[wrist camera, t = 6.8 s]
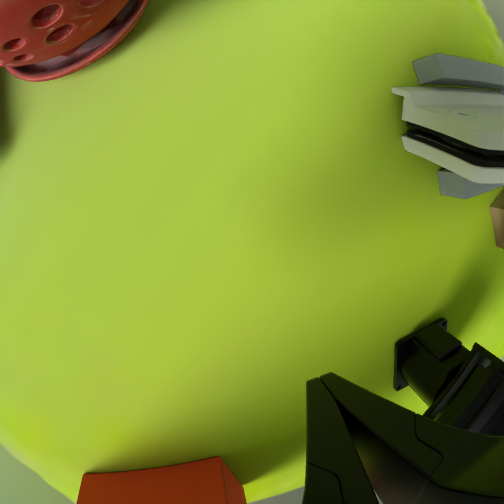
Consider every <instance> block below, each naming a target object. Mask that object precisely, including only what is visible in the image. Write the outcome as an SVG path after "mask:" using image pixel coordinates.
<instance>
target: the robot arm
mask: <svg viewBox="0 0 504 504" xmlns="http://www.w3.org/2000/svg"><path fill="white" fill-rule="evenodd" d="M446 330H447V319H445V318H441V319H439V320H437V321H436V322H434V323H432V324H430V325H428V326H427V327H425V328H423V329H421V330H419V331H417V332H416V333H414V334H412V335H410V336H408V337H406V338H404V339H402V340H400V341H398V342H397V343H396V345H395V364H394V386H393V388H394V389H395V390H396V391H399V390H401V389H403V388H405V387H406V386H408V385H409V386H410V387H411V388H412V389H413V390H414V391H415V392H416V394H417V395H418V396H419V397H420V398H421V399H422V400H423V401H424V402H425V403H426V404H427V405H428V406H429V408H428V409H427V410H426V412H425V413H424V414H423V415H420V414H416V413H415V412H413V411H411V410H408V409H406V408H404V407H402V406H400V405H398V404H395V403H393V402H391V401H389V400H387V399H385V398H383V397H381V396H378V395H376V394H374V393H372V392H370V391H368V390H366V389H364V388H362V387H360V386H358V385H356V384H354V383H352V382H350V381H348V380H346V379H344V378H342V377H340V376H338V375H336V374H335V373H332V372H329V373H326V374H324V375H321V376H320V377H319V378H318V377H316V378H313V379H310V380H308V381H307V382H306V476H305V489H304V495H303V500H302V504H379V502H378V500H377V497H376V495H375V492H376V493H377V495H378V496H379V498H380V500H381V501H382V503H383V504H504V362H503V361H502V360H500V359H499V358H498V357H496V356H495V355H493V354H492V353H490V352H489V351H488V350H486V349H485V348H483V347H482V346H480V345H479V344H478V343H476V342H475V344H474V345H473V347H472V350H471V351H469V350H468V349H467V348H465V347H464V346H463V345H462V342H461V341H459V340H458V339H457V338H455V337H454V336H453V335H451V334H450V333H448V332H447V331H446ZM489 364H490V365H489ZM373 489H374V490H375V492H374V490H373Z"/></svg>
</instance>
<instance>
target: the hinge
mask: <svg viewBox="0 0 504 504" xmlns="http://www.w3.org/2000/svg"><path fill="white" fill-rule="evenodd" d="M392 94H396V95H400V96H403V97H404V102H403V111H402V120H405V121H407V126H410V127H413V128H416V129H419V130H412V131H407V135H404V136H402V141H403V146H404V148H405V150H406V151H408V152H410V153H413V154H415V155H417V156H420V157H422V158H424V159H426V160H429V161H431V162H433V163H435V164H437V165H439V166H442V167H444V168H446V169H448V170H450V171H452V172H454V173H456V174H458V175H460V176H462V177H464V178H466V179H468V180H470V181H472V182H476V183H488V184H497V183H504V94H503V93H500V92H497V91H494V90H484V89H472V88H456V87H392Z"/></svg>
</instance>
